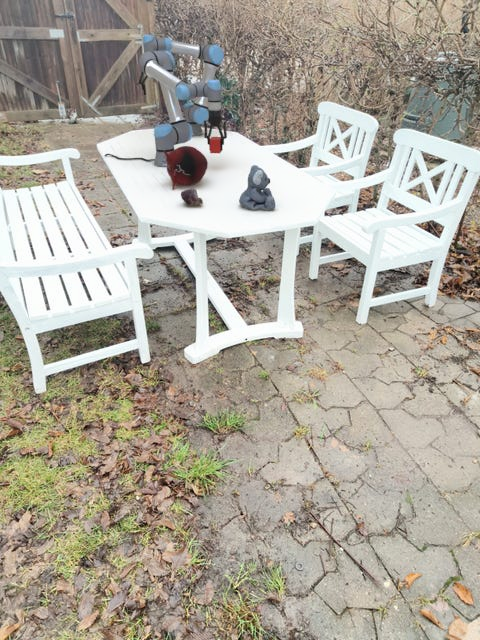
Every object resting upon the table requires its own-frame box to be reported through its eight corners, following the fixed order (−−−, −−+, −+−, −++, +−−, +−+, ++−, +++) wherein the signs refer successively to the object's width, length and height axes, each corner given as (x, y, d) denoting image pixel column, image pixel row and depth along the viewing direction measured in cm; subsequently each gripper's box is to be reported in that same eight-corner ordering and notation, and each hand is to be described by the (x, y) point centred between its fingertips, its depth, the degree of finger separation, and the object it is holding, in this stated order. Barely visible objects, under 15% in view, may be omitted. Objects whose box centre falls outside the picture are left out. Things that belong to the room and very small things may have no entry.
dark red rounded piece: (165, 151, 264) (159, 150, 240) (204, 143, 263) (202, 140, 240) (174, 188, 271) (169, 190, 247) (212, 180, 270) (211, 181, 247)
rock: (196, 202, 238) (178, 205, 233) (194, 185, 234) (176, 188, 230) (205, 205, 228) (187, 208, 224) (203, 188, 224) (185, 191, 220)
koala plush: (276, 211, 223) (277, 171, 212) (240, 212, 222) (240, 172, 211) (271, 199, 237) (272, 161, 226) (237, 200, 236) (237, 162, 225)
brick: (220, 153, 275) (219, 139, 270) (210, 153, 275) (209, 139, 271) (221, 150, 280) (221, 136, 276) (212, 150, 281) (211, 136, 276)
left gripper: (231, 108, 266) (232, 149, 279) (200, 108, 268) (202, 148, 281) (229, 111, 260) (230, 152, 273) (197, 110, 262) (199, 151, 275)
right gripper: (169, 60, 314) (172, 94, 326) (134, 60, 316) (139, 93, 328) (166, 61, 308) (169, 95, 320) (131, 61, 310) (135, 95, 322)
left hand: (216, 150), depth 277 cm, fingers closed on brick, 6 cm apart
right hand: (154, 95), depth 324 cm, fingers open, 13 cm apart
